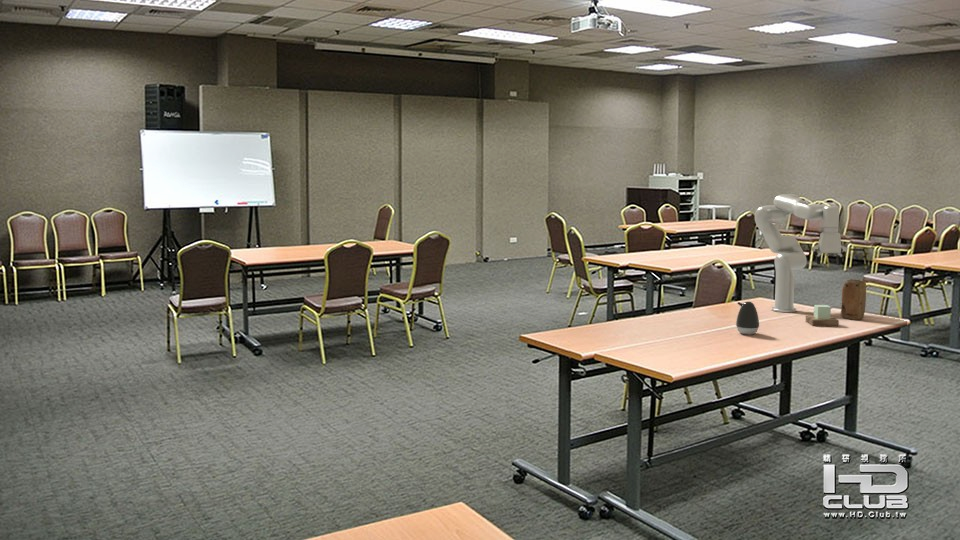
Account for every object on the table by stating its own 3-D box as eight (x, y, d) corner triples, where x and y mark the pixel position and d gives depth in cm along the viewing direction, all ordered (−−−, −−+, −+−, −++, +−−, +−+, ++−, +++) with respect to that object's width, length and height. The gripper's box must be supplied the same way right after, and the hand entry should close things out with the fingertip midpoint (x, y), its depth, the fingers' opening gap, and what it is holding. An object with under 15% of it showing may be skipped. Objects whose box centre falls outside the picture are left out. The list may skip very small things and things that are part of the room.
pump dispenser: (741, 330, 378) (743, 298, 377) (762, 333, 371) (764, 301, 369) (731, 333, 371) (732, 301, 369) (752, 336, 364) (753, 304, 362)
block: (866, 319, 406) (868, 280, 404) (859, 321, 401) (862, 281, 398) (844, 316, 414) (846, 278, 411) (838, 318, 409) (840, 279, 406)
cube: (813, 316, 397) (814, 304, 396) (826, 316, 396) (826, 305, 395) (817, 318, 391) (818, 306, 390) (830, 319, 390) (830, 307, 389)
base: (805, 321, 400) (805, 315, 400) (830, 321, 399) (830, 315, 399) (812, 326, 388) (813, 319, 388) (838, 326, 387) (838, 320, 387)
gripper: (814, 231, 397) (813, 265, 400) (850, 231, 396) (848, 265, 398) (810, 229, 405) (808, 263, 407) (845, 230, 403) (843, 263, 405)
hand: (828, 264), depth 402 cm, fingers open, 9 cm apart
